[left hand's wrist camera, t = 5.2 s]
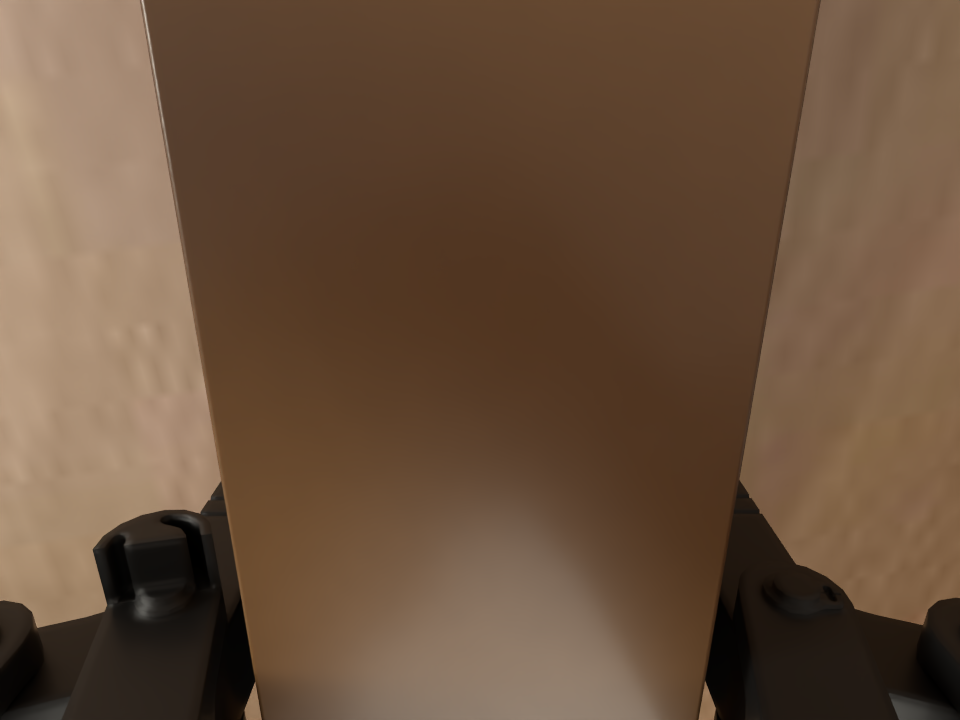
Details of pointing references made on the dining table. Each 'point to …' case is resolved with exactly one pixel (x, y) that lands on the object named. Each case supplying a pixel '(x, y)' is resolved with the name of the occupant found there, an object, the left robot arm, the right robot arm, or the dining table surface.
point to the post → (480, 333)
